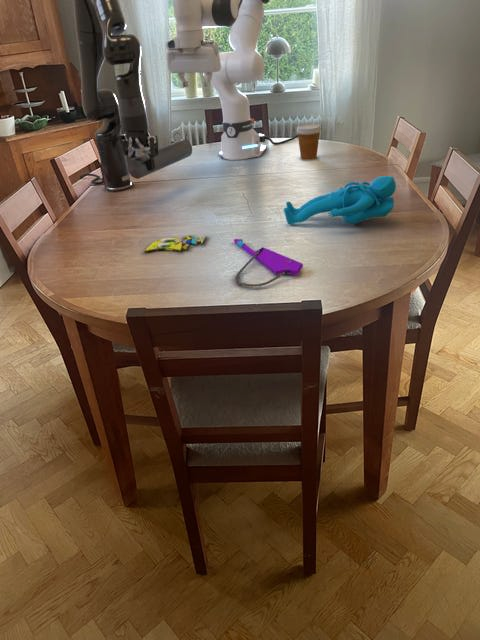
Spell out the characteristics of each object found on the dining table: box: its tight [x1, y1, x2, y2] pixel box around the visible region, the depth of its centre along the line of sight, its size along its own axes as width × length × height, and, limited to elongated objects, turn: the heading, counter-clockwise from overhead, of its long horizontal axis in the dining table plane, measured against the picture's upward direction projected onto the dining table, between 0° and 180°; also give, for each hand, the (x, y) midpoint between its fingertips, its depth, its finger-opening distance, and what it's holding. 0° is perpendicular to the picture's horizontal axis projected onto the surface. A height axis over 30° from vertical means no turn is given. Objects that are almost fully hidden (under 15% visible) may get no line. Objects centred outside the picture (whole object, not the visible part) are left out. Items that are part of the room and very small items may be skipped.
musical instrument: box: [233, 238, 304, 287], centre depth 115 cm, size 24×2×20 cm
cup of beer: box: [296, 123, 322, 161], centre depth 190 cm, size 10×10×12 cm
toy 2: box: [283, 175, 397, 226], centre depth 132 cm, size 17×11×30 cm
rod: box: [127, 138, 193, 180], centre depth 157 cm, size 26×6×6 cm, turn 148°
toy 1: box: [144, 234, 207, 254], centre depth 130 cm, size 10×1×15 cm
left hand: (143, 169), depth 151 cm, fingers closed on rod, 6 cm apart
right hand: (196, 87), depth 166 cm, fingers open, 8 cm apart
